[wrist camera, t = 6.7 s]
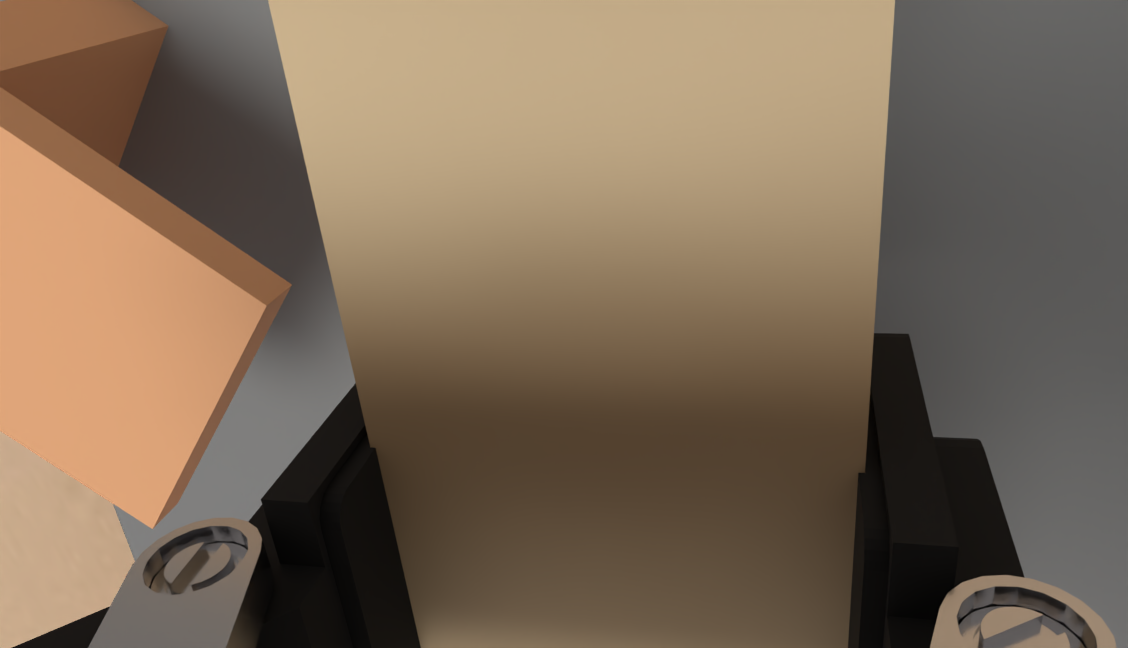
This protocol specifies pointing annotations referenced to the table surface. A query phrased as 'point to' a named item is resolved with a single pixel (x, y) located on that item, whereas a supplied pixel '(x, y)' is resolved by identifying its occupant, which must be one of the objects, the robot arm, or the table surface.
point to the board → (905, 267)
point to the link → (606, 303)
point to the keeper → (109, 268)
